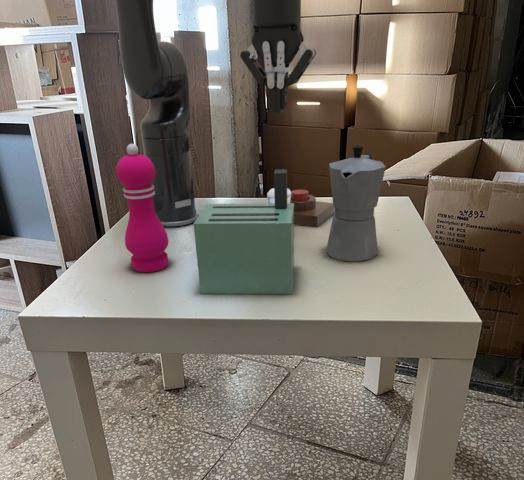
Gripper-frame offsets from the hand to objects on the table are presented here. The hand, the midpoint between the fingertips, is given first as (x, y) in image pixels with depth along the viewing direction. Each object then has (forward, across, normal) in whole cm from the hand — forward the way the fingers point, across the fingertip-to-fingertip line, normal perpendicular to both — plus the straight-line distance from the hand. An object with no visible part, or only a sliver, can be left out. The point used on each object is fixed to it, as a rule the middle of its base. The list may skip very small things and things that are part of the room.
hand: (278, 112), depth 89 cm
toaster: (+22, -2, +21) cm, 31 cm away
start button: (+19, 0, -13) cm, 23 cm away
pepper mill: (+22, +17, +20) cm, 35 cm away
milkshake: (+22, 0, -1) cm, 22 cm away
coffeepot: (+22, -15, +4) cm, 27 cm away
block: (+22, 0, -13) cm, 26 cm away
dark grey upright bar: (+11, -6, +17) cm, 21 cm away
